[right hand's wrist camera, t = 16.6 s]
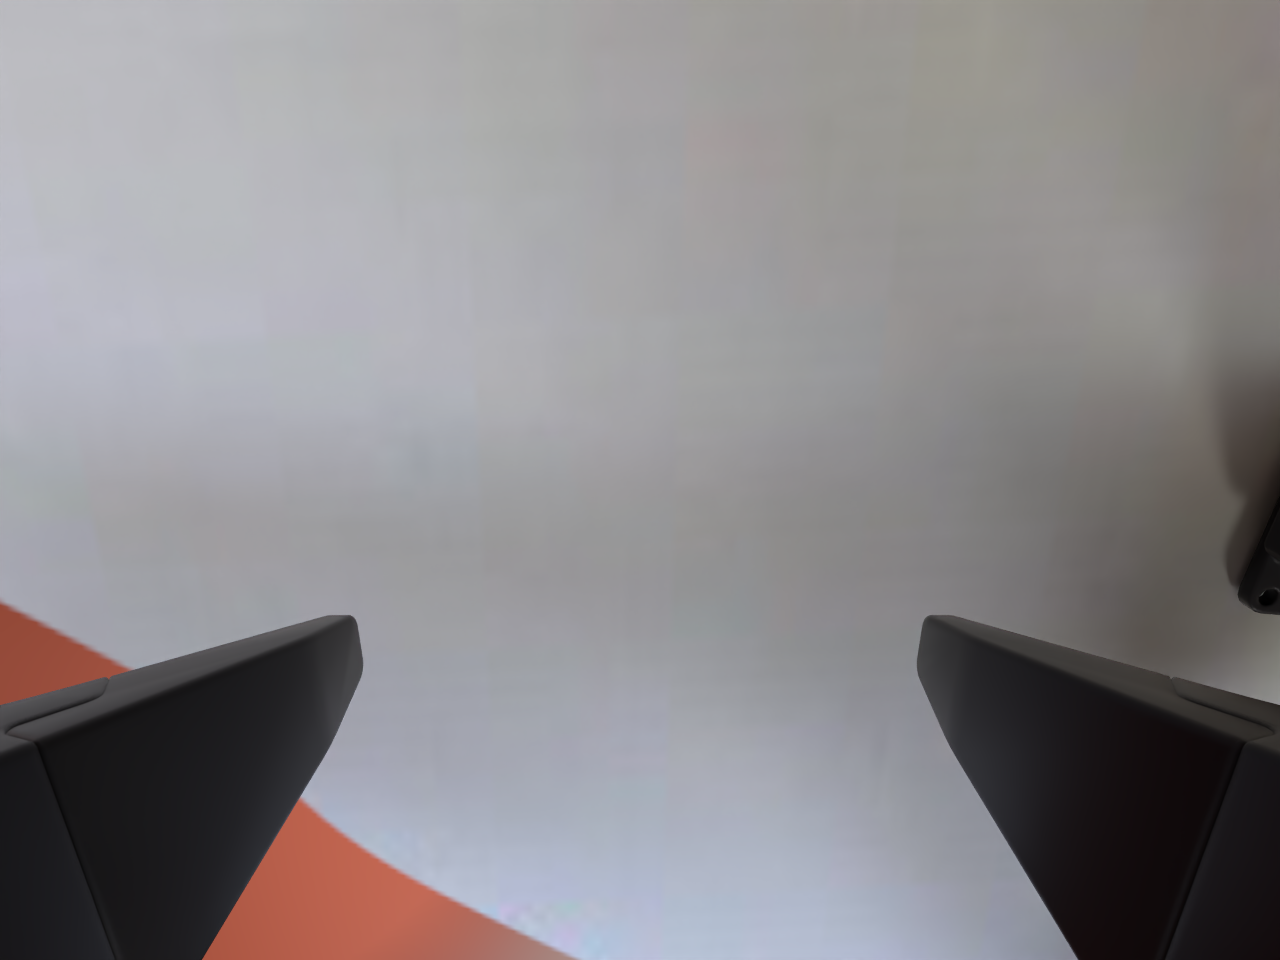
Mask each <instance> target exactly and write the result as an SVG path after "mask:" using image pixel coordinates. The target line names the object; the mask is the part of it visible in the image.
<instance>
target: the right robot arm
mask: <svg viewBox="0 0 1280 960" xmlns="http://www.w3.org/2000/svg"><path fill="white" fill-rule="evenodd" d="M1264 591H1265V592H1264ZM1262 592H1264V594H1263V595H1261V593H1262ZM1260 595H1261V596H1260ZM1259 596H1260V597H1259ZM1238 598H1239V600H1240V601H1241V602H1242V603H1243V604H1244V605H1246V606H1247V607H1249V608H1250V609H1252V610H1253V611H1255V612H1258V613H1263V614H1275V615H1280V497H1279V499H1278V501H1277V504H1276V506H1275V508H1274V511H1273V513H1272V515H1271V517H1270V520H1269V522H1268V524H1267V526H1266V529H1265V531H1264V533H1263V535H1262V538H1261V540H1260V542H1259V544H1258V547H1257V549H1256V551H1255V553H1254V556H1253V558H1252V560H1251V563H1250V565H1249V567H1248V569H1247V572H1246V574H1245V576H1244V578H1243V581H1242V583H1241V585H1240V587H1239V591H1238ZM362 671H363V657H362V651H361V644H360V638H359V632H358V626H357V622H356V620H355V618H354V617H353V616H350V615H329V616H324V617H320V618H317V619H313V620H310V621H306V622H303V623H299V624H296V625H292V626H288V627H285V628H281V629H278V630H274V631H271V632H267V633H263V634H260V635H256V636H253V637H249V638H246V639H242V640H239V641H235V642H231V643H228V644H224V645H221V646H217V647H214V648H210V649H207V650H203V651H199V652H196V653H192V654H189V655H185V656H182V657H178V658H174V659H171V660H167V661H164V662H160V663H157V664H153V665H150V666H146V667H142V668H139V669H135V670H132V671H128V672H125V673H121V674H118V675H114V676H111V677H110V679H108V678H106V677H104V678H100V679H96V680H93V681H89V682H85V683H82V684H79V685H75V686H71V687H67V688H64V689H60V690H56V691H52V692H49V693H45V694H41V695H38V696H34V697H30V698H26V699H23V700H19V701H15V702H11V703H7V704H3V705H0V960H202V959H203V957H204V955H205V954H206V952H207V950H208V949H209V947H210V945H211V944H212V942H213V940H214V939H215V937H216V935H217V934H218V932H219V930H220V929H221V927H222V925H223V924H224V922H225V920H226V919H227V917H228V915H229V914H230V912H231V911H232V909H233V907H234V906H235V904H236V902H237V901H238V899H239V897H240V895H241V894H242V892H243V891H244V889H245V887H246V886H247V884H248V882H249V881H250V879H251V877H252V876H253V874H254V872H255V871H256V869H257V867H258V866H259V864H260V862H261V861H262V859H263V857H264V856H265V854H266V852H267V851H268V849H269V847H270V846H271V844H272V842H273V841H274V839H275V838H276V836H277V834H278V832H279V831H280V829H281V827H282V826H283V824H284V823H285V821H286V819H287V817H288V816H289V814H290V813H291V811H292V809H293V808H294V806H295V804H296V803H297V801H298V799H299V798H300V796H301V794H302V793H303V791H304V789H305V788H306V786H307V784H308V783H309V781H310V779H311V778H312V776H313V774H314V773H315V771H316V769H317V768H318V766H319V765H320V763H321V761H322V760H323V758H324V756H325V754H326V753H327V751H328V749H329V747H330V745H331V743H332V741H333V739H334V737H335V735H336V733H337V731H338V728H339V726H340V724H341V722H342V719H343V717H344V715H345V713H346V710H347V708H348V706H349V704H350V701H351V699H352V697H353V694H354V692H355V690H356V688H357V685H358V683H359V681H360V678H361V675H362ZM917 671H918V675H919V678H920V681H921V683H922V685H923V688H924V690H925V692H926V694H927V697H928V699H929V701H930V704H931V706H932V708H933V710H934V713H935V715H936V717H937V719H938V722H939V724H940V726H941V728H942V731H943V733H944V735H945V737H946V739H947V741H948V743H949V745H950V747H951V749H952V751H953V753H954V754H955V756H956V758H957V760H958V761H959V763H960V765H961V766H962V768H963V769H964V771H965V773H966V774H967V776H968V778H969V779H970V781H971V783H972V784H973V786H974V788H975V789H976V791H977V793H978V794H979V796H980V798H981V799H982V801H983V803H984V804H985V806H986V808H987V809H988V811H989V813H990V814H991V816H992V818H993V819H994V821H995V823H996V824H997V826H998V828H999V829H1000V831H1001V833H1002V834H1003V836H1004V838H1005V839H1006V841H1007V842H1008V844H1009V846H1010V847H1011V849H1012V851H1013V852H1014V854H1015V856H1016V857H1017V859H1018V861H1019V862H1020V864H1021V866H1022V867H1023V869H1024V871H1025V872H1026V874H1027V876H1028V877H1029V879H1030V881H1031V882H1032V884H1033V886H1034V887H1035V889H1036V891H1037V892H1038V894H1039V896H1040V897H1041V899H1042V901H1043V902H1044V904H1045V906H1046V907H1047V909H1048V911H1049V912H1050V914H1051V915H1052V917H1053V919H1054V920H1055V922H1056V924H1057V925H1058V927H1059V929H1060V930H1061V932H1062V934H1063V935H1064V937H1065V939H1066V940H1067V942H1068V944H1069V945H1070V947H1071V949H1072V950H1073V952H1074V954H1075V955H1076V957H1077V959H1078V960H1280V705H1277V704H1273V703H1269V702H1265V701H1261V700H1258V699H1254V698H1250V697H1246V696H1242V695H1239V694H1235V693H1231V692H1228V691H1224V690H1220V689H1216V688H1213V687H1209V686H1205V685H1202V684H1198V683H1195V682H1191V681H1187V680H1184V679H1180V678H1177V677H1174V678H1172V679H1170V677H1169V676H1166V675H1162V674H1159V673H1155V672H1152V671H1148V670H1145V669H1141V668H1138V667H1134V666H1130V665H1127V664H1123V663H1120V662H1116V661H1113V660H1109V659H1105V658H1102V657H1098V656H1095V655H1091V654H1088V653H1084V652H1081V651H1077V650H1073V649H1070V648H1066V647H1063V646H1059V645H1056V644H1052V643H1049V642H1045V641H1041V640H1038V639H1034V638H1031V637H1027V636H1024V635H1020V634H1016V633H1013V632H1009V631H1006V630H1002V629H999V628H995V627H992V626H988V625H984V624H981V623H977V622H974V621H970V620H967V619H963V618H960V617H956V616H951V615H930V616H927V617H926V618H925V620H924V622H923V626H922V632H921V638H920V644H919V650H918V657H917Z"/></svg>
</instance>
